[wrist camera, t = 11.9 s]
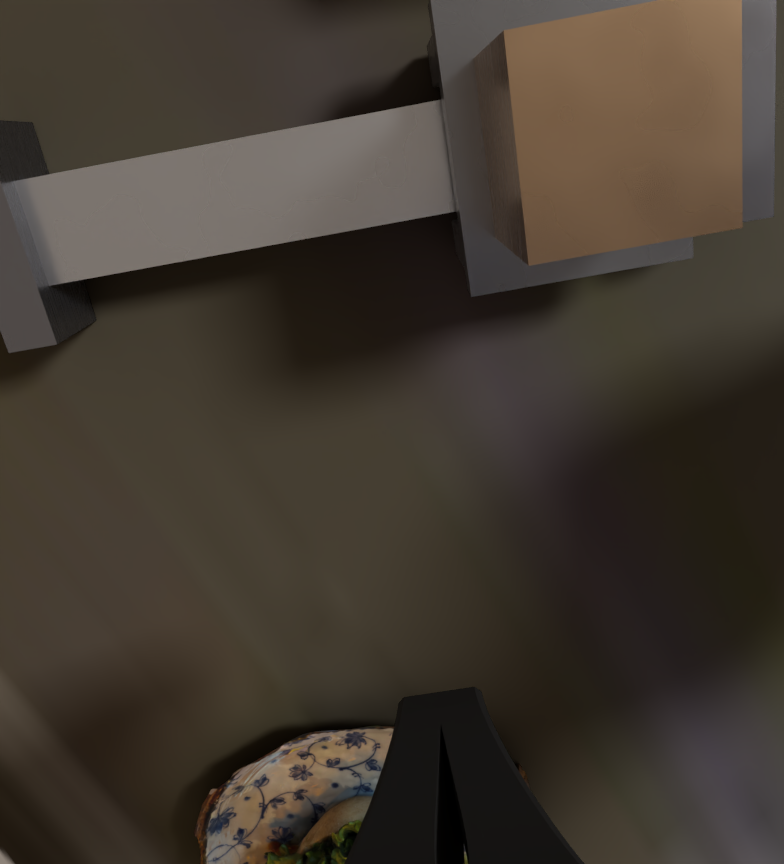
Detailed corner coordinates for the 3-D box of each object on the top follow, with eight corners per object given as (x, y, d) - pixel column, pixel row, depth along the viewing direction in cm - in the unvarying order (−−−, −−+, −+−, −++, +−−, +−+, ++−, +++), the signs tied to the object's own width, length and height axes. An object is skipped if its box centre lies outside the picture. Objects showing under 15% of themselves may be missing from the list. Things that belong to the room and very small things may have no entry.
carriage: (638, -23, 17) (790, -120, 11) (650, 242, 19) (783, 291, 13) (422, 20, 17) (446, -51, 11) (459, 276, 19) (496, 340, 13)
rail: (722, -13, 17) (776, -37, 15) (724, 207, 19) (773, 216, 17) (-15, 131, 18) (-76, 129, 16) (53, 327, 20) (8, 352, 18)
